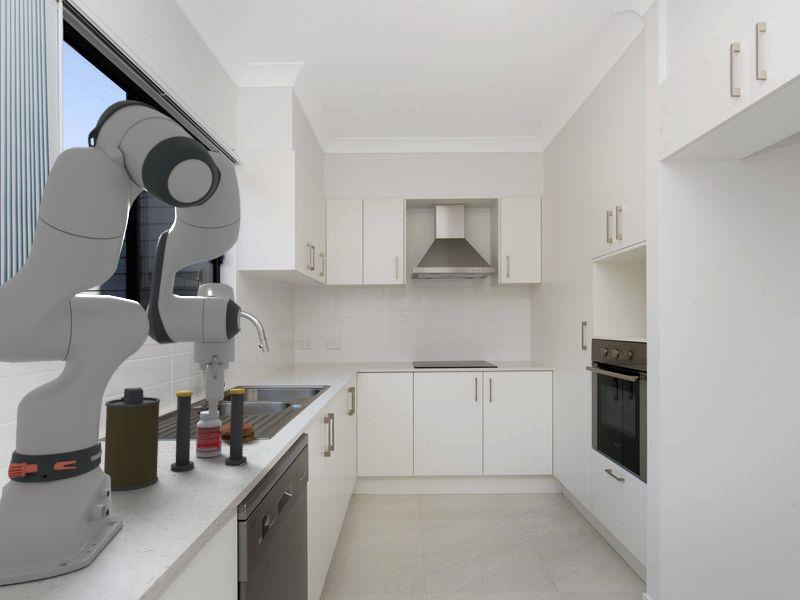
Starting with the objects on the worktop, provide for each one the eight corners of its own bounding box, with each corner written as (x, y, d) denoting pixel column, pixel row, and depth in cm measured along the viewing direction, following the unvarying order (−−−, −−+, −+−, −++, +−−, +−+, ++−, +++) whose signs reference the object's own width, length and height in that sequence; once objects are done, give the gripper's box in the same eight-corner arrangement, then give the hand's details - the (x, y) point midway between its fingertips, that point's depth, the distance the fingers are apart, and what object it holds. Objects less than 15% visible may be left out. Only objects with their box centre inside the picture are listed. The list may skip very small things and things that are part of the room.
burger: (237, 435, 149) (237, 419, 149) (261, 438, 145) (261, 422, 145) (212, 442, 140) (212, 426, 141) (236, 446, 136) (236, 429, 136)
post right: (247, 464, 118) (249, 390, 119) (225, 466, 116) (227, 391, 117) (245, 459, 123) (247, 387, 124) (224, 461, 121) (226, 388, 122)
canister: (164, 483, 104) (167, 389, 105) (109, 494, 97) (112, 393, 98) (149, 471, 112) (151, 384, 113) (96, 481, 105) (100, 387, 106)
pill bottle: (223, 455, 126) (224, 412, 126) (198, 459, 122) (199, 414, 123) (218, 450, 131) (219, 408, 131) (193, 453, 127) (194, 411, 128)
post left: (193, 469, 114) (195, 392, 114) (170, 472, 112) (172, 394, 112) (193, 464, 118) (195, 390, 119) (171, 466, 116) (173, 391, 117)
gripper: (231, 357, 104) (230, 423, 103) (226, 351, 123) (225, 407, 122) (199, 358, 101) (197, 425, 101) (199, 351, 120) (198, 408, 120)
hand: (212, 415), depth 112 cm, fingers closed
